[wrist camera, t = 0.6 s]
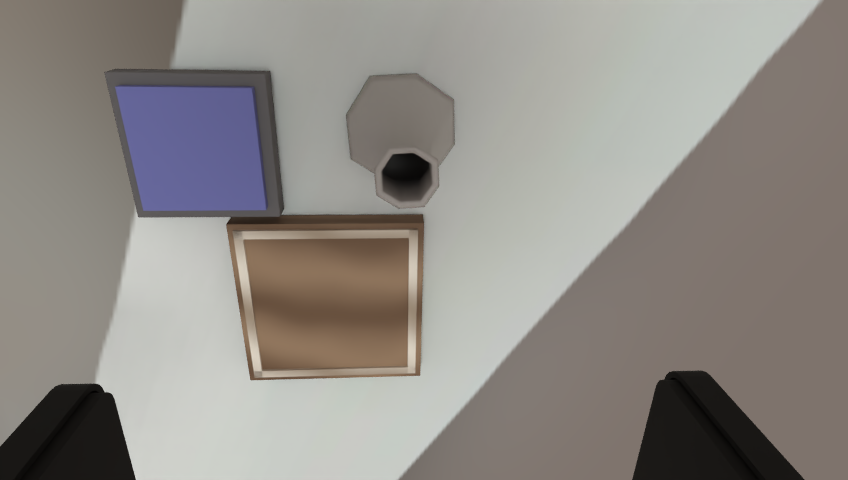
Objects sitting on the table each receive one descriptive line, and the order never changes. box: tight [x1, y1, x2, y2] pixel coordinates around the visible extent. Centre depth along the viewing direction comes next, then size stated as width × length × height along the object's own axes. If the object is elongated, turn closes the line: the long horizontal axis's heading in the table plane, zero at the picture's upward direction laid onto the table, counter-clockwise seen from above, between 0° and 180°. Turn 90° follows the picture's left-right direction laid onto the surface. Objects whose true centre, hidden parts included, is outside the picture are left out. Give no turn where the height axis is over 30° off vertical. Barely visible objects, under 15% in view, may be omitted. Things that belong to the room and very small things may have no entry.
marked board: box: [226, 215, 424, 380], centre depth 38 cm, size 13×13×2 cm
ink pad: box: [105, 69, 284, 217], centre depth 32 cm, size 9×9×2 cm
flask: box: [346, 74, 455, 209], centre depth 29 cm, size 7×7×10 cm
